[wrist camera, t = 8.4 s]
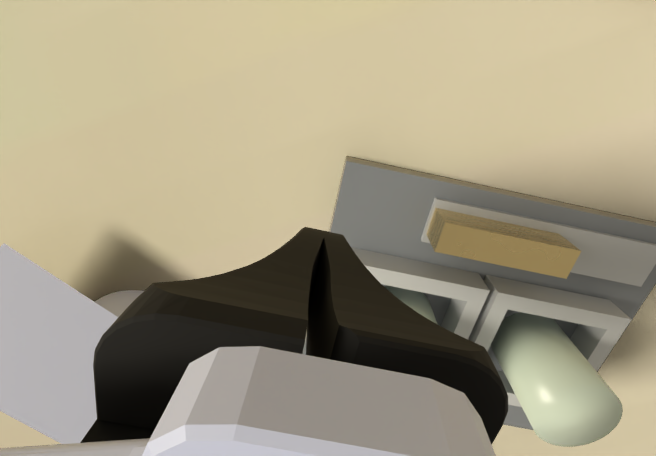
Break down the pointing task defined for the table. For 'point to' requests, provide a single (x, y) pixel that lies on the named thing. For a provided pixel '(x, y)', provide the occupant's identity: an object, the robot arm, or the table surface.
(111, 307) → the wedge on round base
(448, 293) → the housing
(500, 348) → the pale green egg
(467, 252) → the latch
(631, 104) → the table surface
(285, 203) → the table surface
